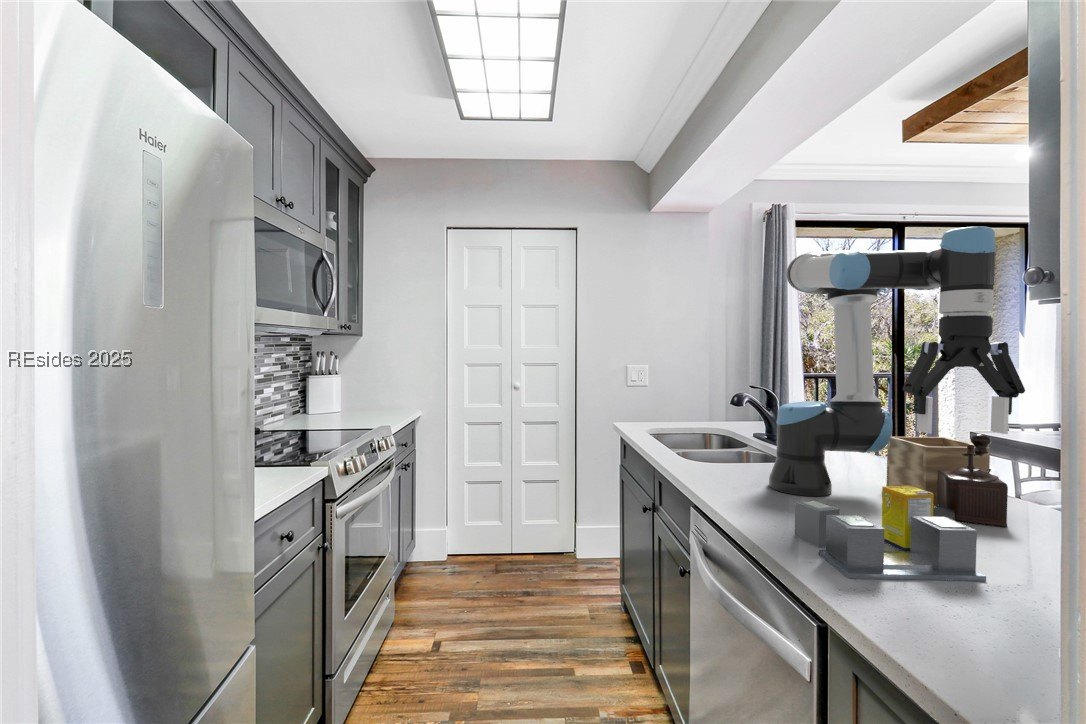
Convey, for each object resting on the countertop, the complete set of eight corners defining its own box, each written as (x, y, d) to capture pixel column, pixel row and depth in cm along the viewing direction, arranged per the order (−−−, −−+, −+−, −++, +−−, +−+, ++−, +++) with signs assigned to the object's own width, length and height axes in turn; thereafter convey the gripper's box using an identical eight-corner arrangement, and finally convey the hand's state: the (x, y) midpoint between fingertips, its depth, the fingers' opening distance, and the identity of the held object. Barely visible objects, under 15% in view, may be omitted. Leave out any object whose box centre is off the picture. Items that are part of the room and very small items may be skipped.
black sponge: (956, 547, 100) (957, 529, 99) (903, 537, 105) (903, 519, 105) (955, 525, 112) (955, 508, 112) (907, 517, 118) (907, 501, 118)
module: (794, 536, 104) (795, 501, 104) (814, 534, 106) (814, 499, 106) (818, 547, 99) (819, 510, 98) (839, 544, 100) (839, 507, 100)
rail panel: (818, 554, 95) (819, 511, 95) (941, 556, 95) (942, 512, 94) (848, 578, 85) (849, 530, 85) (986, 581, 85) (987, 532, 84)
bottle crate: (886, 487, 142) (887, 436, 141) (942, 488, 141) (944, 437, 141) (925, 504, 127) (926, 447, 126) (988, 505, 126) (990, 447, 126)
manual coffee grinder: (1012, 529, 110) (1015, 444, 109) (947, 521, 114) (949, 439, 114) (987, 508, 124) (989, 433, 123) (930, 502, 128) (932, 429, 128)
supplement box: (907, 539, 103) (908, 484, 103) (933, 551, 97) (935, 493, 97) (879, 540, 102) (881, 485, 102) (904, 552, 96) (906, 494, 96)
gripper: (910, 313, 90) (907, 435, 90) (1055, 314, 90) (1050, 436, 90) (882, 316, 97) (879, 428, 98) (1015, 316, 97) (1011, 429, 98)
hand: (961, 432), depth 94 cm, fingers open, 13 cm apart
